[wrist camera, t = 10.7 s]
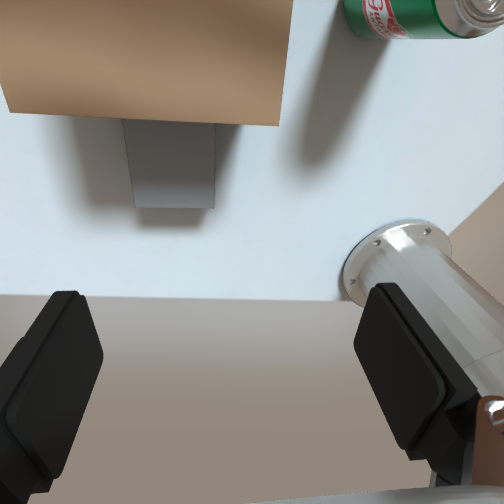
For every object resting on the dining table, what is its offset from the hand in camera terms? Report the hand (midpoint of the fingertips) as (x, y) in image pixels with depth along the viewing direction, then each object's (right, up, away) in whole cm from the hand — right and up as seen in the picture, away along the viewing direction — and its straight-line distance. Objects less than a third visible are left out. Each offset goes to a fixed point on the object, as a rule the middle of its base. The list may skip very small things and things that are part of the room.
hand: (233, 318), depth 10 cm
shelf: (-5, +18, +11) cm, 22 cm away
